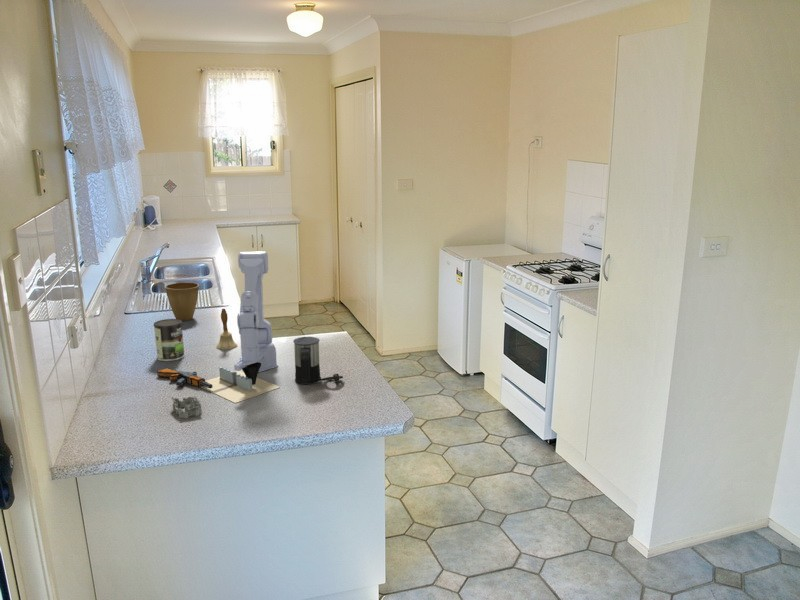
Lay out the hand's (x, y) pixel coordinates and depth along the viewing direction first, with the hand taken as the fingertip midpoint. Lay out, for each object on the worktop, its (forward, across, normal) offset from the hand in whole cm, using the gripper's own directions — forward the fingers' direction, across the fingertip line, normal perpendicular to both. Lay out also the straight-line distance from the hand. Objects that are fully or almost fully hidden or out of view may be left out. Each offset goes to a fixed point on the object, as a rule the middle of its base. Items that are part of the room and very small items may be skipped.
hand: (252, 383), depth 225 cm
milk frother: (+2, -16, +17) cm, 23 cm away
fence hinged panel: (+1, +2, -3) cm, 3 cm away
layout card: (+2, +1, -6) cm, 6 cm away
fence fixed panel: (+1, -1, -12) cm, 12 cm away
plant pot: (+2, -56, -83) cm, 100 cm away
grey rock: (+2, +24, -7) cm, 25 cm away
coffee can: (+2, -12, -49) cm, 51 cm away
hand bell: (+2, -32, -38) cm, 50 cm away
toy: (+2, +6, -24) cm, 25 cm away
